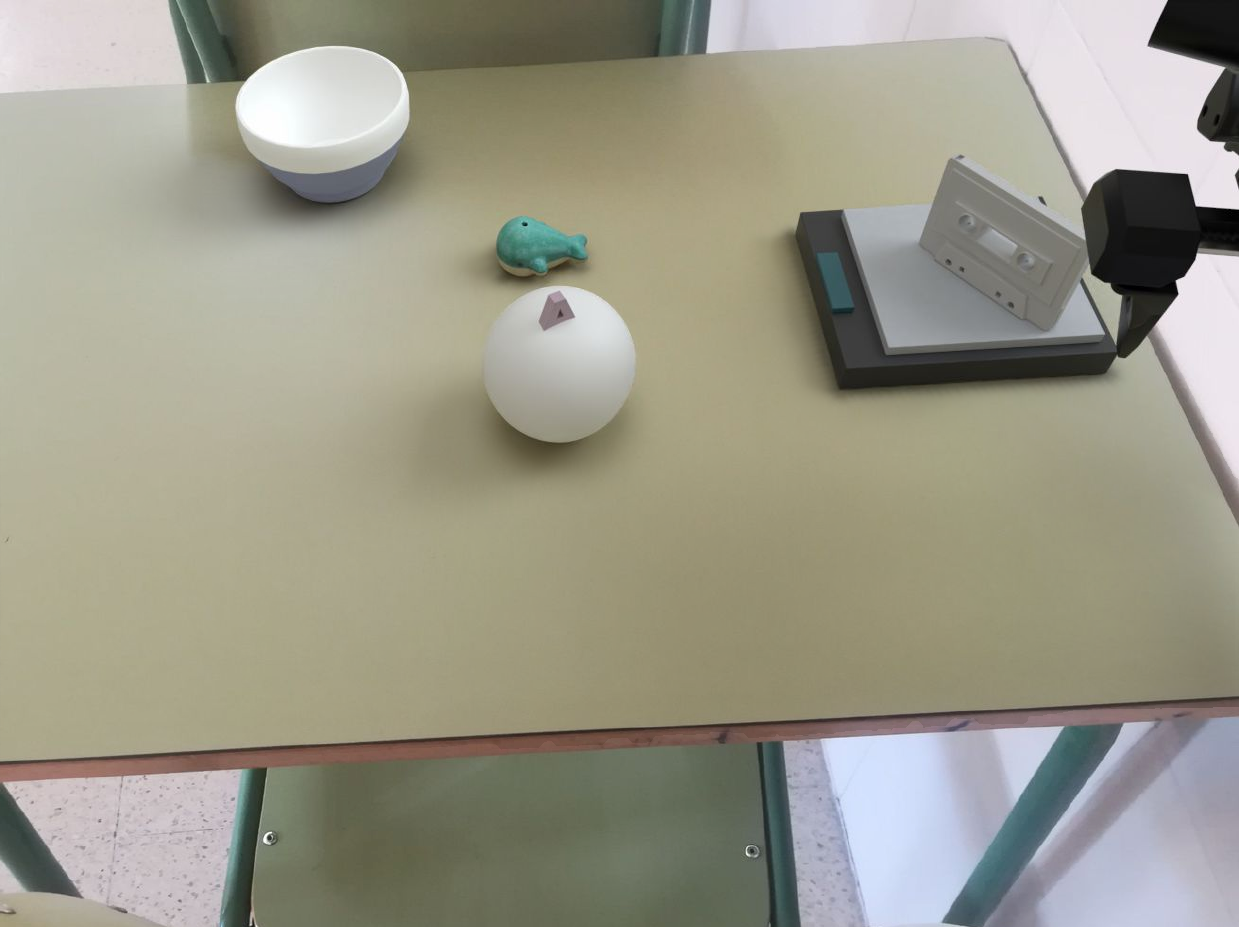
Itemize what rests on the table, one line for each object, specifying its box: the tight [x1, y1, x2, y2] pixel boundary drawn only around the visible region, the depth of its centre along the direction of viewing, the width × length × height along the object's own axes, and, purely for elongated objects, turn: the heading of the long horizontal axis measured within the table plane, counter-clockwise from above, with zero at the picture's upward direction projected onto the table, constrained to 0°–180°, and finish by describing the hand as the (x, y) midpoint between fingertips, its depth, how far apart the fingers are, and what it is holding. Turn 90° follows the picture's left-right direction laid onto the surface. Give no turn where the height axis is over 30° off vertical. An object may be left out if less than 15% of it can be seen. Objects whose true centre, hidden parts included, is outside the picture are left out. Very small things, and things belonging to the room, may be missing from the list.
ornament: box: [481, 285, 637, 444], centre depth 71 cm, size 10×10×12 cm
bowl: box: [234, 45, 410, 204], centre depth 90 cm, size 14×14×8 cm
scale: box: [794, 195, 1118, 390], centre depth 79 cm, size 19×17×3 cm
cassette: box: [919, 153, 1090, 331], centre depth 73 cm, size 12×2×8 cm, turn 35°
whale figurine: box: [495, 215, 588, 277], centre depth 84 cm, size 6×7×4 cm
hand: (1208, 360), depth 58 cm, fingers open, 9 cm apart
